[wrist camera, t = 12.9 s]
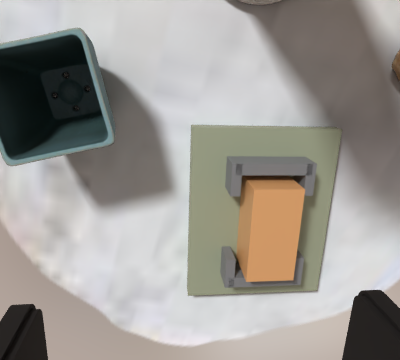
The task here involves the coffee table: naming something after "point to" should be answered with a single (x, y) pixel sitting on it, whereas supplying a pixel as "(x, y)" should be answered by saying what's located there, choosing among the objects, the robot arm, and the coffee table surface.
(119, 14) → the coffee table surface
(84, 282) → the coffee table surface
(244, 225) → the tall tan rectangular prism
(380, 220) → the coffee table surface
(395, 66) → the brown boot
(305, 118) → the coffee table surface
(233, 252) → the green bracket base plate
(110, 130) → the flower pot
